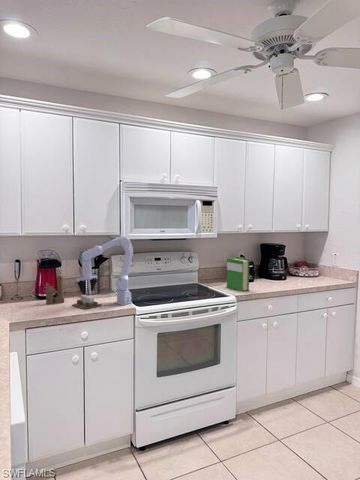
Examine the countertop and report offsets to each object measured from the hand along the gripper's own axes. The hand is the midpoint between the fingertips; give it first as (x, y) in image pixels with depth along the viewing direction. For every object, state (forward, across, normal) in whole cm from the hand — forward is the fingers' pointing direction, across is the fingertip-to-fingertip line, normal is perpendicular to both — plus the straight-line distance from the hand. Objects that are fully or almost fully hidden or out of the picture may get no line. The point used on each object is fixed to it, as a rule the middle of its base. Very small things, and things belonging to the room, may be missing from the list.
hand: (87, 291), depth 223 cm
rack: (+9, 0, 0) cm, 9 cm away
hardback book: (+10, -109, +46) cm, 119 cm away
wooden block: (+10, +10, -21) cm, 25 cm away
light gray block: (+8, 0, 0) cm, 8 cm away
